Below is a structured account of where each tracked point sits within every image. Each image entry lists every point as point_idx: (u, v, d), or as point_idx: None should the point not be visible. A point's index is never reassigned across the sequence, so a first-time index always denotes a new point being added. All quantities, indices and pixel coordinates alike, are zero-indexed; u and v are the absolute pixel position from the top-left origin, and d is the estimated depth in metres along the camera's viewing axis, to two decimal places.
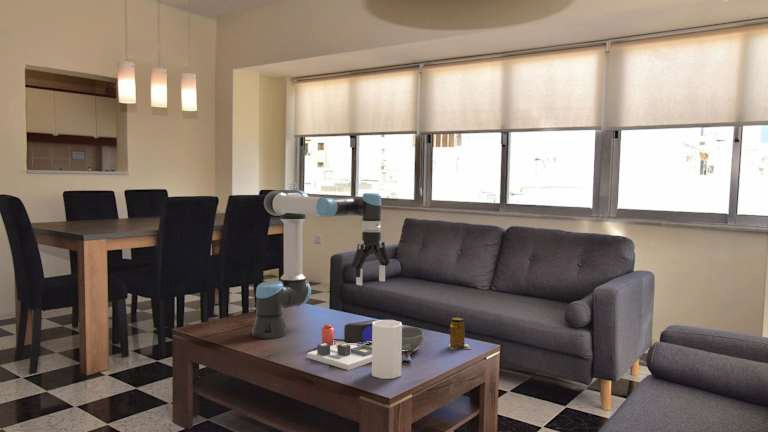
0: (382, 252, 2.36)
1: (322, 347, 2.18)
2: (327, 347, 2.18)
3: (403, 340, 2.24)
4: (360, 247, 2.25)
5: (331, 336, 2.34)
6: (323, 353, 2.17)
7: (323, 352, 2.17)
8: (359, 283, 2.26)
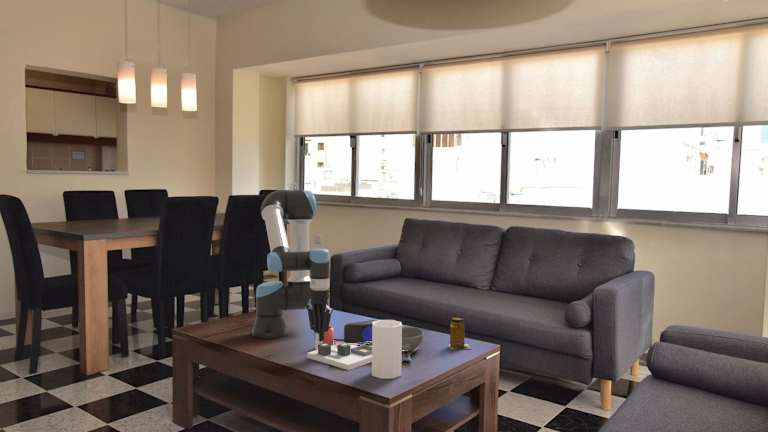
0: None
1: (323, 347, 2.17)
2: (328, 347, 2.18)
3: (403, 340, 2.24)
4: None
5: (331, 336, 2.34)
6: (324, 353, 2.17)
7: (324, 352, 2.17)
8: None
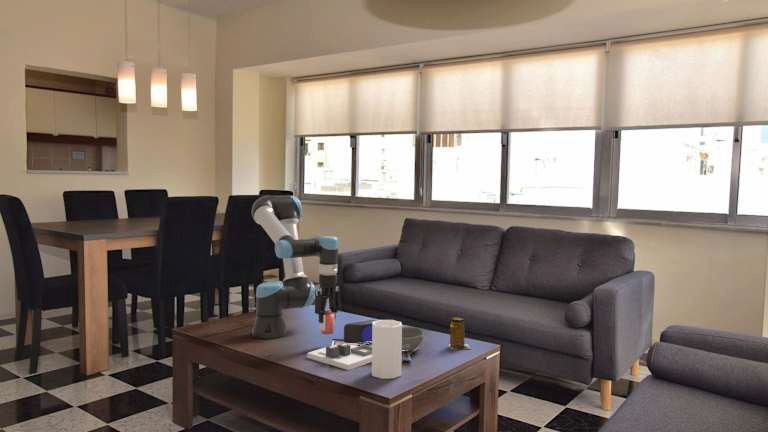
0: (336, 297, 2.39)
1: (331, 349, 2.15)
2: (336, 349, 2.15)
3: (403, 340, 2.24)
4: (317, 294, 2.30)
5: (331, 322, 2.35)
6: (332, 356, 2.14)
7: (332, 354, 2.14)
8: (322, 328, 2.34)
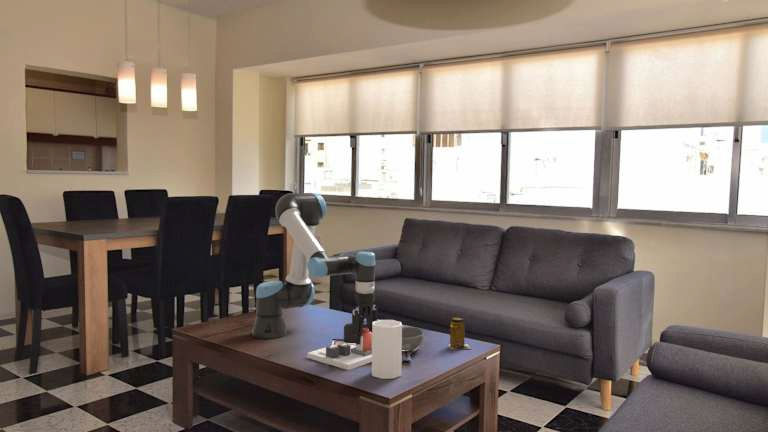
0: (373, 316, 2.26)
1: (331, 349, 2.15)
2: (336, 349, 2.15)
3: (403, 340, 2.24)
4: (354, 314, 2.16)
5: (369, 341, 2.20)
6: (332, 356, 2.14)
7: (332, 354, 2.14)
8: None
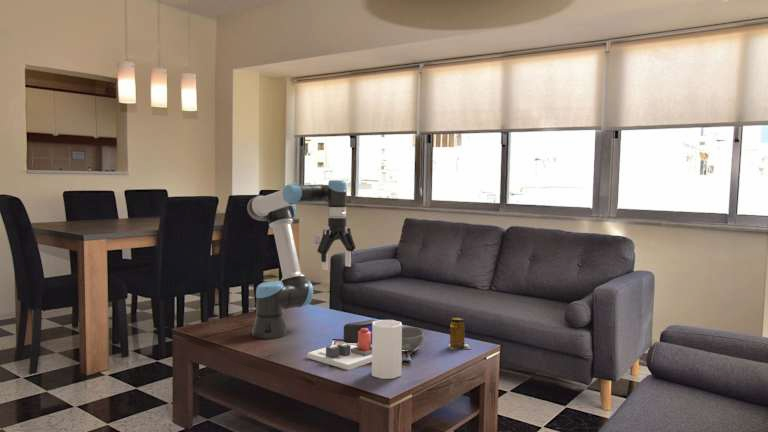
0: (348, 238, 2.42)
1: (331, 349, 2.15)
2: (336, 349, 2.15)
3: (403, 340, 2.24)
4: (326, 232, 2.31)
5: (368, 341, 2.20)
6: (332, 356, 2.14)
7: (332, 354, 2.14)
8: (325, 268, 2.31)
